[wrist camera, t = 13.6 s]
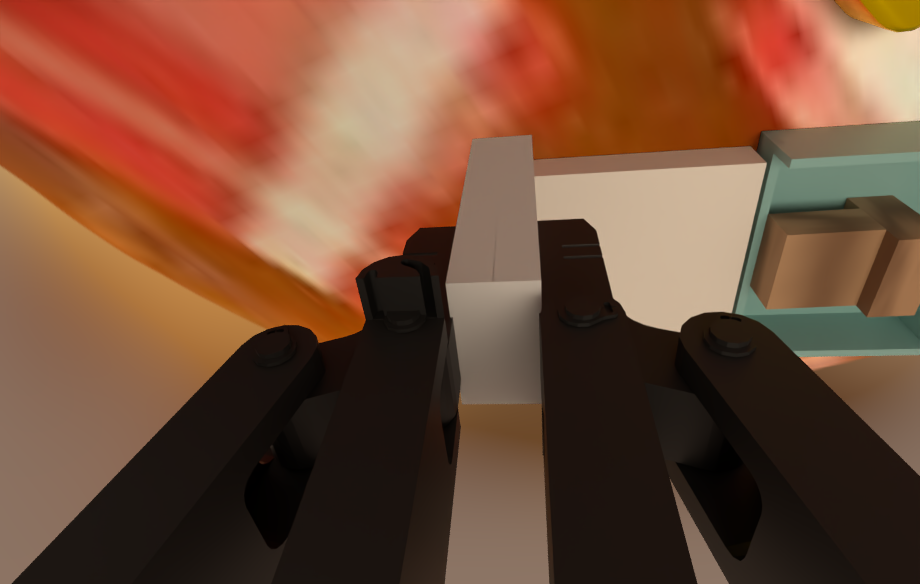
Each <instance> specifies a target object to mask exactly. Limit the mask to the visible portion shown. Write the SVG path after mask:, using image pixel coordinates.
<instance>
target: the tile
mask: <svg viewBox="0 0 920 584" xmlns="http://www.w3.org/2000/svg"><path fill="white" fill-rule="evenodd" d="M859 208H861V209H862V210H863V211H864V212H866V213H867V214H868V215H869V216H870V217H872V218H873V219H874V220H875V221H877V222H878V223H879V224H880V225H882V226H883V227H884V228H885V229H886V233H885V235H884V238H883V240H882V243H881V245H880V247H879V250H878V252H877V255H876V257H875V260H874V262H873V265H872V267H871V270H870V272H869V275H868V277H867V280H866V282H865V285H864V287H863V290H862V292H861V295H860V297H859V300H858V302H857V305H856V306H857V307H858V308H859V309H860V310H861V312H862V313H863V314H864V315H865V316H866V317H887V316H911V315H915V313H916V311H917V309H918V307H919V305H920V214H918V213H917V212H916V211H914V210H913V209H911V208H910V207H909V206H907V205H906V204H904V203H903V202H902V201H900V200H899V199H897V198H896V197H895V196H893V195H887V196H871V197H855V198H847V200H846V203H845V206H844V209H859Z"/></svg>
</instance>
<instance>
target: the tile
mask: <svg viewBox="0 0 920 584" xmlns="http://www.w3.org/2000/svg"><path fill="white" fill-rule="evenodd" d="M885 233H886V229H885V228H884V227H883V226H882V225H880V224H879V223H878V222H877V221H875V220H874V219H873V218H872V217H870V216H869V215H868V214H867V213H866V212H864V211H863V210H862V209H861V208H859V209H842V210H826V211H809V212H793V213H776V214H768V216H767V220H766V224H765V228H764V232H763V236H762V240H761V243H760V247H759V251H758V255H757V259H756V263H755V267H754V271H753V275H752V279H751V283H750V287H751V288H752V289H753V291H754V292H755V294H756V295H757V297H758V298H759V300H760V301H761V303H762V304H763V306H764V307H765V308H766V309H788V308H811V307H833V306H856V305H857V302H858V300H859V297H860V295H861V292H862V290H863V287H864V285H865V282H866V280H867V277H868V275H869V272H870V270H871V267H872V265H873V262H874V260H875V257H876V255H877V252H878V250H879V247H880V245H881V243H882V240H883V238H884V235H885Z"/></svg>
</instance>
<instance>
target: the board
mask: <svg viewBox="0 0 920 584" xmlns="http://www.w3.org/2000/svg"><path fill="white" fill-rule="evenodd" d="M533 164H534V179H535V194H536V209H537V221H542V220H563V219H584V220H586V221H587V222H588V223H589V224H590V225H591V226H592V227H594V228H595V229H596V231H597V235H598V239H599V243H600V247H601V251H602V258H603V259H604V263H605V267H606V271H607V275H608V279H609V283H610V288H611V292H612V296H613V299H615V300H616V301H618V302H619V303H620V304H621V306H622V307H623V309H624V311H625V312H626V316H628V317H629V318H631V319H632V320H634V321H637V322H639V323H641V324H644V325H647V326H651V327H655V328H660V329H665V330H670V331H676V332H680V331H681V326H682V325H683V324H684V323H685V322H686V321H687V320H688V319H689V318H690V317H693V316H696V315H699V314H702V313H705V312H728V313H732V310H733V305H734V301H735V297H736V293H737V288H738V284H739V280H740V275H741V271H742V267H743V263H744V258H745V254H746V250H747V246H748V241H749V237H750V233H751V229H752V224H753V220H754V216H755V211H756V207H757V203H758V199H759V194H760V190H761V186H762V182H763V177H764V173H765V169H766V164H767V162H766V161H765V160H764V159H763V158H762V157H761V156H760V155H759V154H758V153H757V152H756V151H755V150H754V149H753V148H752V147H751V146H745V147H729V148H713V149H697V150H681V151H665V152H649V153H633V154H617V155H601V156H585V157H569V158H553V159H537V160H533Z"/></svg>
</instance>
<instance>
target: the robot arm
mask: <svg viewBox="0 0 920 584" xmlns="http://www.w3.org/2000/svg"><path fill="white" fill-rule="evenodd" d="M356 283H357V287H358V291H359V294H360V298H361V302H362V306H363V310H364V314H365V318H366V321H365V324H364V327H363V330H362V331H360V332H358V333H355V334H352V335H349V336H346V337H343V338H339V339H335V340H330V341H326V342H322V343H318V340H317V337H316V335H315V334H314V333H313V332H312V331H311V330H310V329H308V328H305V327H302V326H299V325H283V326H279V327H274V328H271V329H267V330H265V331H263V332H261V333H259V334H257V335H255V336H253V337H252V338H250V339H249V340H248V341H247V342H246V343H244V344H243V345H241V347H240V348H239V349H238V350H237V351H236V352H235V353H234V354H233V355H232V356H231V357H230V358H229V359H228V360H227V361H226V362H225V363H224V364H223V365H222V366H221V367H220V369H218V370H217V371H216V372H215V374H214V375H213V376H212V377H211V378H210V379H209V380H208V381H207V382H206V383H205V384H204V385H203V386H202V387H201V388H200V389H199V390H198V391H197V392H196V393H195V394H194V395H193V396H192V397H191V398H190V399H189V400H188V402H187V403H186V404H185V405H184V406H183V407H182V408H181V409H180V410H179V411H178V412H177V413H176V414H175V415H174V416H173V417H172V418H171V419H170V420H169V421H168V422H167V423H166V424H165V425H164V426H163V427H162V428H161V429H160V430H159V431H158V433H157V434H156V435H155V436H154V437H153V438H152V439H151V440H150V441H149V442H148V443H147V444H146V445H145V446H144V447H143V448H142V449H141V450H140V451H139V452H138V453H137V454H136V455H135V456H134V458H132V459H131V460H130V462H129V463H128V464H127V465H126V466H125V467H124V468H123V469H122V470H121V471H120V472H119V473H118V474H117V475H116V476H115V477H114V478H113V479H112V480H111V481H110V482H109V483H108V484H107V485H106V486H105V487H104V488H103V490H102V491H101V492H100V493H99V494H98V495H97V496H96V497H95V498H94V499H93V500H92V501H91V502H90V503H89V504H88V505H87V506H86V507H85V508H84V509H83V510H82V511H81V512H80V513H79V514H78V516H77V517H76V518H75V519H74V520H73V521H72V522H71V523H70V524H69V525H68V526H67V527H66V528H65V529H64V530H63V531H62V532H61V533H60V534H59V535H58V536H57V537H56V538H55V540H53V541H52V542H51V543H50V545H48V547H47V548H46V549H45V550H44V551H43V552H42V553H41V554H40V555H39V556H38V557H37V558H36V559H35V560H34V561H33V562H32V563H31V564H30V565H29V566H28V567H27V568H26V569H25V571H23V572H22V573H21V575H19V577H18V578H17V579H16V580H15V581H14V582H13V583H12V584H445V574H446V564H447V555H448V545H449V535H450V526H451V525H450V524H451V516H452V506H453V496H454V487H455V476H456V468H457V458H458V447H459V439H460V429H461V426H460V420H459V412H458V402H459V393H460V392H461V399H462V404H542V440H543V455H544V476H545V496H546V497H545V498H546V520H547V541H548V561H549V562H548V563H549V583H550V584H697V581H696V577H695V573H694V569H693V565H692V562H691V558H690V554H689V551H688V546H687V543H686V539H685V536H684V531H683V528H682V524H681V520H680V516H679V512H678V509H677V505H676V501H675V497H674V493H673V490H672V486H671V482H670V479H671V481H672V483H673V485H674V486H675V488H676V490H677V492H678V494H679V495H680V497H681V499H682V501H683V502H684V504H685V506H686V508H687V510H688V511H689V513H690V515H691V517H692V518H693V520H694V522H695V524H696V526H697V527H698V529H699V531H700V533H701V535H702V536H703V538H704V540H705V541H706V543H707V545H708V547H709V549H710V551H711V552H712V554H713V556H714V558H715V560H716V561H717V563H718V565H719V566H720V568H721V570H722V572H723V574H724V576H725V577H726V579H727V581H728V582H729V584H920V476H919V475H918V474H917V473H916V472H915V471H914V470H913V469H912V468H911V467H910V466H909V465H908V464H907V463H906V462H905V461H904V460H903V459H902V458H901V457H900V456H899V455H898V454H897V453H896V452H895V451H894V450H893V449H892V448H891V447H890V446H889V445H888V444H887V443H886V442H885V441H884V440H883V439H882V438H880V437H879V436H878V435H877V434H876V433H875V432H874V431H873V430H872V429H871V428H870V427H869V426H868V425H867V424H866V423H865V422H864V421H863V420H862V419H861V418H860V417H859V416H858V415H857V414H856V413H855V412H854V411H853V410H852V409H851V408H850V407H849V406H848V405H847V404H846V403H845V402H844V401H843V400H842V399H841V398H840V397H839V396H838V395H837V394H836V393H835V392H834V391H833V390H832V389H831V388H830V387H828V385H827V384H826V383H825V382H824V381H823V380H821V379H820V378H819V377H818V376H817V375H816V374H815V373H814V372H813V371H812V370H811V369H810V368H809V367H808V366H807V365H806V364H805V363H804V362H803V361H802V360H801V359H800V358H799V357H798V356H797V355H796V354H795V353H794V352H793V351H792V350H791V349H790V348H789V347H788V346H787V345H786V344H785V343H784V342H783V341H782V340H781V339H780V338H779V337H778V336H777V335H776V334H775V333H774V332H773V331H771V330H770V329H768V328H767V327H766V326H764V325H763V324H761V323H760V322H758V321H756V320H753V319H751V318H748V317H746V316H743V315H740V314H734V313H728V312H705V313H702V314H699V315H696V316H693V317H690V318H689V319H688V320H687V321H686V322H685V323H684V324H683V325H682V326H681V331H680V332H676V331H670V330H665V329H660V328H655V327H651V326H647V325H644V324H641V323H639V322H637V321H634V320H632V319H631V318H629V317H628V316H626V312H625V311H624V309H623V307H622V306H621V304H620V303H619V302H618V301H616V300H615V299H613V296H612V292H611V288H610V283H609V279H608V275H607V271H606V267H605V263H604V259H603V258H602V251H601V247H600V243H599V239H598V235H597V231H596V229H595V228H594V227H592V226H591V225H590V224H589V223H588V222H587V221H586V220H584V219H563V220H542V221H537V209H536V194H535V179H534V164H533V149H532V135H524V136H509V137H494V138H480V139H473V140H472V145H471V150H470V156H469V161H468V166H467V172H466V177H465V182H464V188H463V193H462V198H461V204H460V209H459V214H458V220H457V225H456V226H454V227H433V228H420V229H419V230H418V231H417V232H415V233H414V234H413V235H412V236H411V237H410V238H409V239H408V240H407V242H406V245H405V248H404V251H403V255H400V256H393V257H388V258H385V259H382V260H379V261H376V262H374V263H372V264H371V265H369V266H367V267H366V268H364V269H363V270H362V271H361V272H360V274H359V275H358V276H357V277H356ZM669 477H670V478H669Z"/></svg>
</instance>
